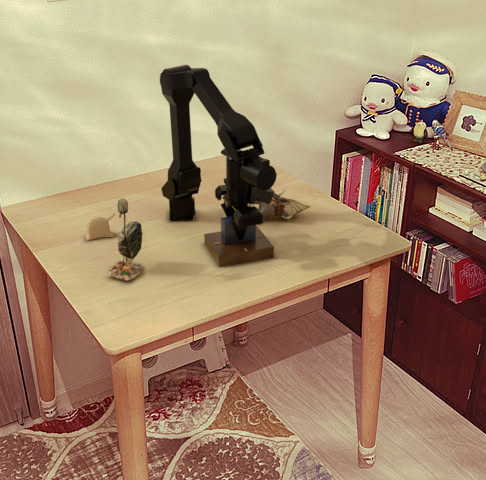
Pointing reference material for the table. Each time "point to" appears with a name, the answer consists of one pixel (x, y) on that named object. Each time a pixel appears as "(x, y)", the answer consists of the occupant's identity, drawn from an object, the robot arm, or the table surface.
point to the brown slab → (238, 249)
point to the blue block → (230, 235)
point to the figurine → (280, 207)
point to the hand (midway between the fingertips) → (238, 236)
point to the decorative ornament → (98, 227)
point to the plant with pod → (127, 246)
